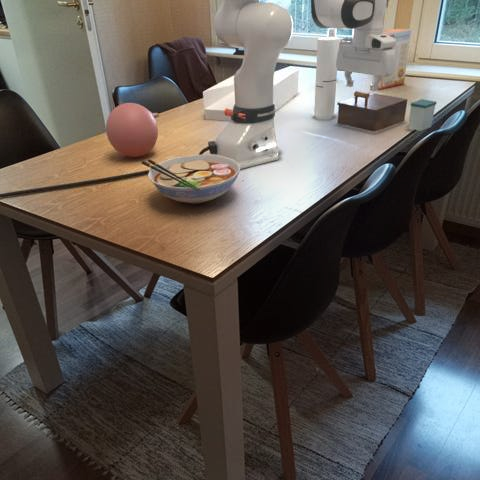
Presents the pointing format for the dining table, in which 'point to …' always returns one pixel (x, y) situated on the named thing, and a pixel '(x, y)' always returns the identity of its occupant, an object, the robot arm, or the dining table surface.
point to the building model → (225, 94)
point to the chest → (371, 117)
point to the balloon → (132, 129)
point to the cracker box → (397, 58)
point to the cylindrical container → (326, 76)
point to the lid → (371, 101)
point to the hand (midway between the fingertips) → (361, 88)
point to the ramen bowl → (194, 177)
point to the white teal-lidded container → (421, 114)
